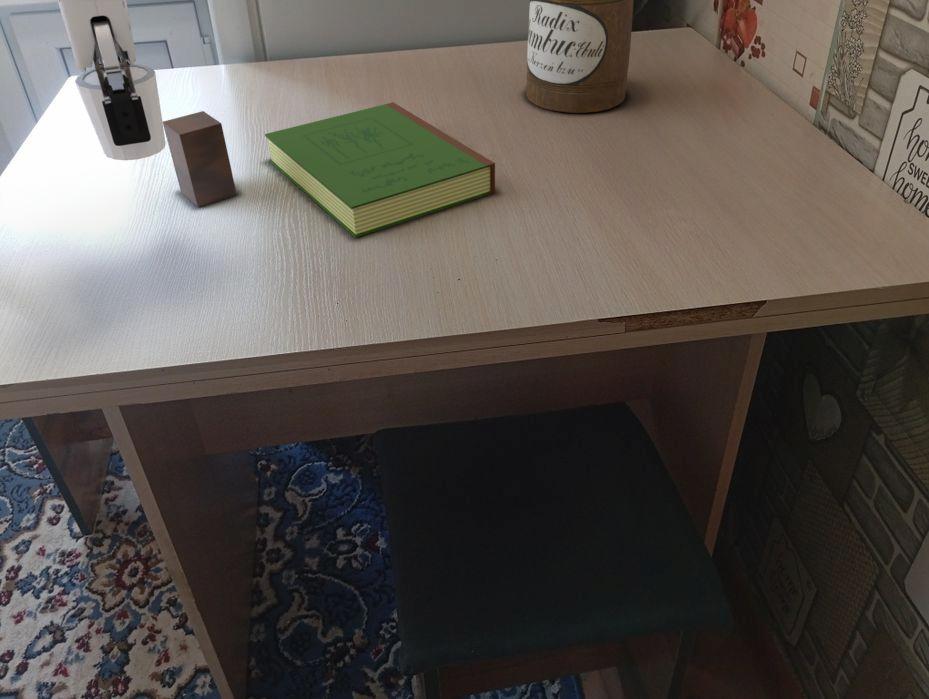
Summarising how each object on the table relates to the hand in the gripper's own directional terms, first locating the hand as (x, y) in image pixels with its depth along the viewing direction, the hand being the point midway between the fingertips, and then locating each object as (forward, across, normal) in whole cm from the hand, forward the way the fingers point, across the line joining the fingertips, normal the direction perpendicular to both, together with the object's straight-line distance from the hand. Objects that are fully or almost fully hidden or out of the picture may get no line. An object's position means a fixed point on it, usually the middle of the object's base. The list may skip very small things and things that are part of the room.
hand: (129, 126), depth 74 cm
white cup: (+2, 0, 0) cm, 2 cm away
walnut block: (+15, -14, +7) cm, 21 cm away
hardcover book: (+14, -10, +27) cm, 32 cm away
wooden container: (+14, -23, +63) cm, 68 cm away
